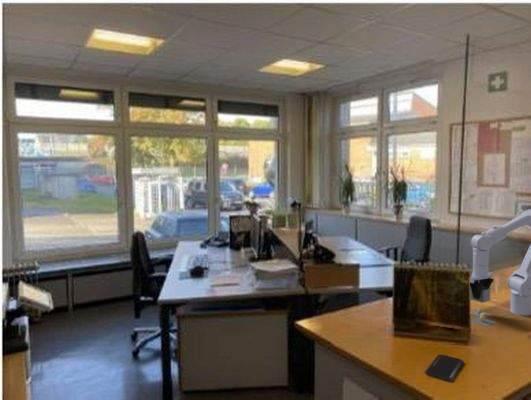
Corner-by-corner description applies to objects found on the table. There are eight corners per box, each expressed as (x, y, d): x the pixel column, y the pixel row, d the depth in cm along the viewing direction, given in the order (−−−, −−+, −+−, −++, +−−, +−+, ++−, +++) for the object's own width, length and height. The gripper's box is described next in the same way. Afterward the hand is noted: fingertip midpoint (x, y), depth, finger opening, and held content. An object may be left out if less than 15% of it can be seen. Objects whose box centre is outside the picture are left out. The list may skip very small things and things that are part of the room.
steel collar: (477, 296, 173) (477, 285, 172) (490, 300, 168) (490, 288, 168) (470, 299, 170) (470, 287, 169) (483, 302, 165) (483, 290, 165)
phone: (464, 360, 131) (451, 379, 119) (464, 363, 131) (451, 383, 119) (438, 353, 136) (423, 371, 124) (438, 356, 136) (423, 375, 124)
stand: (476, 312, 174) (476, 305, 173) (491, 316, 169) (491, 309, 168) (468, 315, 170) (468, 308, 170) (483, 319, 165) (483, 312, 165)
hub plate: (478, 319, 166) (478, 309, 166) (496, 324, 160) (496, 314, 160) (469, 323, 162) (469, 313, 162) (486, 328, 157) (486, 318, 156)
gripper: (480, 259, 175) (480, 291, 176) (461, 265, 167) (461, 297, 168) (497, 262, 169) (497, 295, 170) (478, 268, 161) (477, 302, 162)
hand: (480, 296), depth 169 cm, fingers closed on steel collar, 5 cm apart
